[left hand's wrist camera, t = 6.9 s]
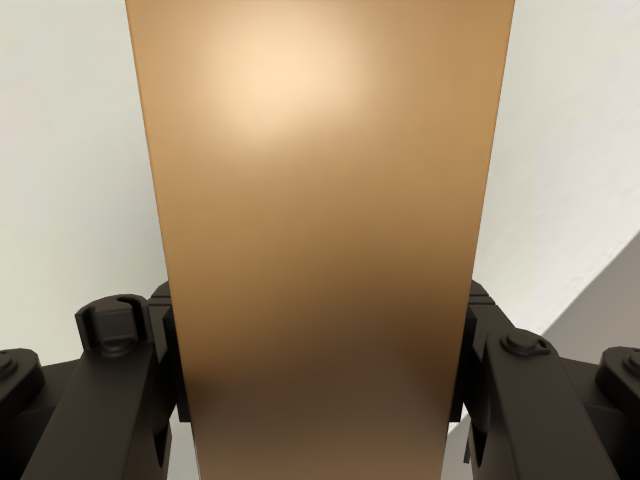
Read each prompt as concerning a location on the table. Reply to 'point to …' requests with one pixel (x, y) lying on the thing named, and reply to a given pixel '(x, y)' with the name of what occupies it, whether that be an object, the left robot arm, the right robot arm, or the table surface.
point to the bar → (319, 221)
